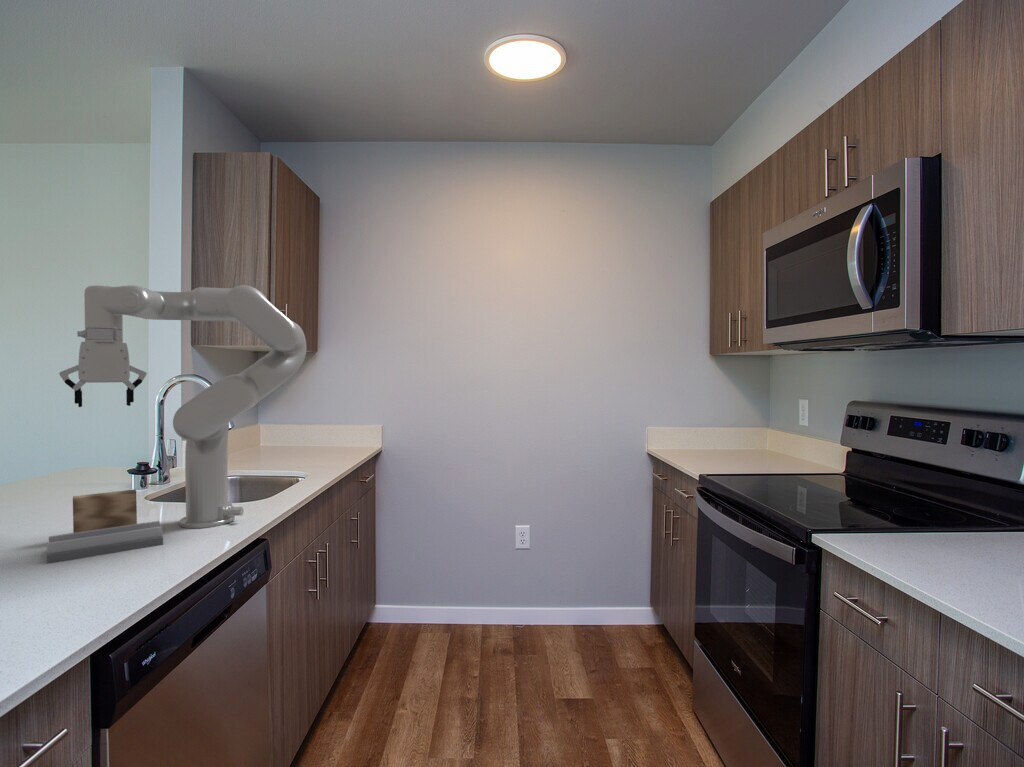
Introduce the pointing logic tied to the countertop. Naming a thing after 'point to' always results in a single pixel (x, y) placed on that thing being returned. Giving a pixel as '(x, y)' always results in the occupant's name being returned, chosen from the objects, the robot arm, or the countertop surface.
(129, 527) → the bottom track
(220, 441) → the robot arm
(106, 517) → the door panel
